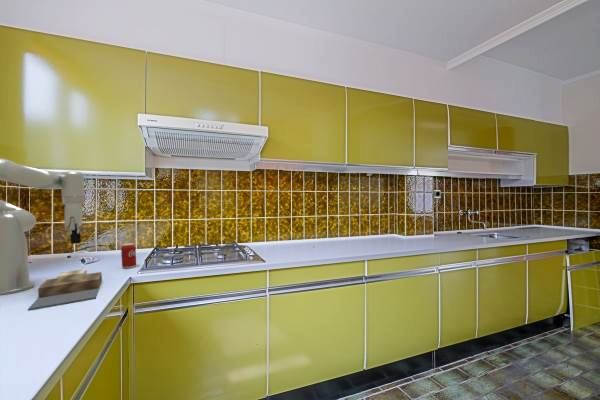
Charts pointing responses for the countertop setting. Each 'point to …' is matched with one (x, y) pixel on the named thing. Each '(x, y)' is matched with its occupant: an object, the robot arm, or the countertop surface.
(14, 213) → the robot arm
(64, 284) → the walnut deck
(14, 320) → the countertop surface
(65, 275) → the beech tile
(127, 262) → the beverage can
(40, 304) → the rubber mat
